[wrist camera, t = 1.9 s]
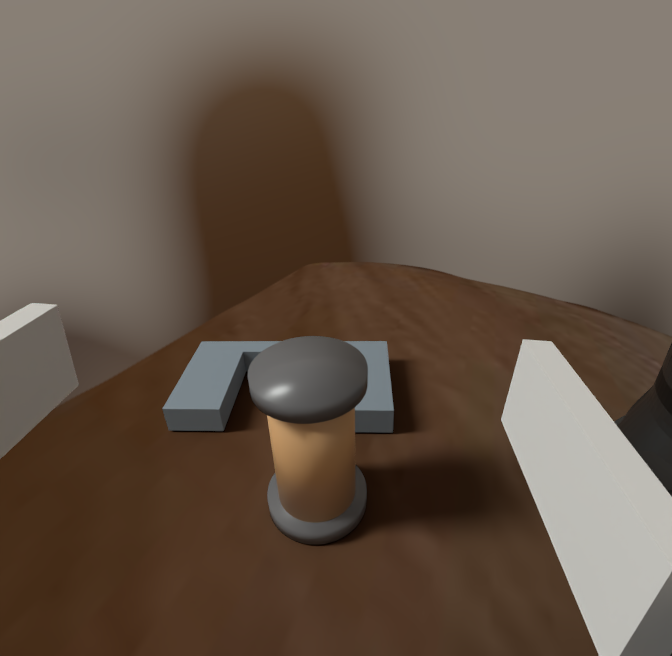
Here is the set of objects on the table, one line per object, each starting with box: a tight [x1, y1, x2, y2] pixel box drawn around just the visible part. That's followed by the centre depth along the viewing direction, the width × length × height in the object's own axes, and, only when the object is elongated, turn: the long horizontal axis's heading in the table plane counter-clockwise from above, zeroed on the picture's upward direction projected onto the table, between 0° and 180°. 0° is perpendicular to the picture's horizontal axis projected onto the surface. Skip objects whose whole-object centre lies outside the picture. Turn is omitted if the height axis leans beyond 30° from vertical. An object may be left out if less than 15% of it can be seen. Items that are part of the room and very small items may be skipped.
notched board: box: [163, 341, 394, 433], centre depth 43 cm, size 20×11×2 cm, turn 88°
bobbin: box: [248, 336, 368, 545], centre depth 29 cm, size 7×7×12 cm
